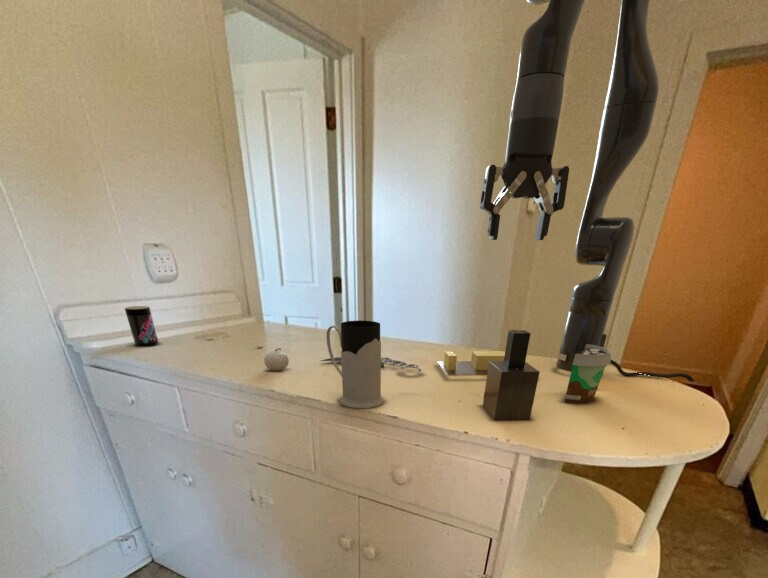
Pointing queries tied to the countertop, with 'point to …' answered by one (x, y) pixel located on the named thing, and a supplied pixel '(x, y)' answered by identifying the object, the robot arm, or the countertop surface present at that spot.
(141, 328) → the supplement container
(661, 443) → the countertop surface
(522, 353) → the kitchen knife
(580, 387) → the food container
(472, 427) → the countertop surface
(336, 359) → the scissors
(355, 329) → the glass holder
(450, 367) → the butter slice
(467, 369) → the rectangular tray
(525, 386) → the knife block
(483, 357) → the butter
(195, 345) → the countertop surface
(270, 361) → the garlic
